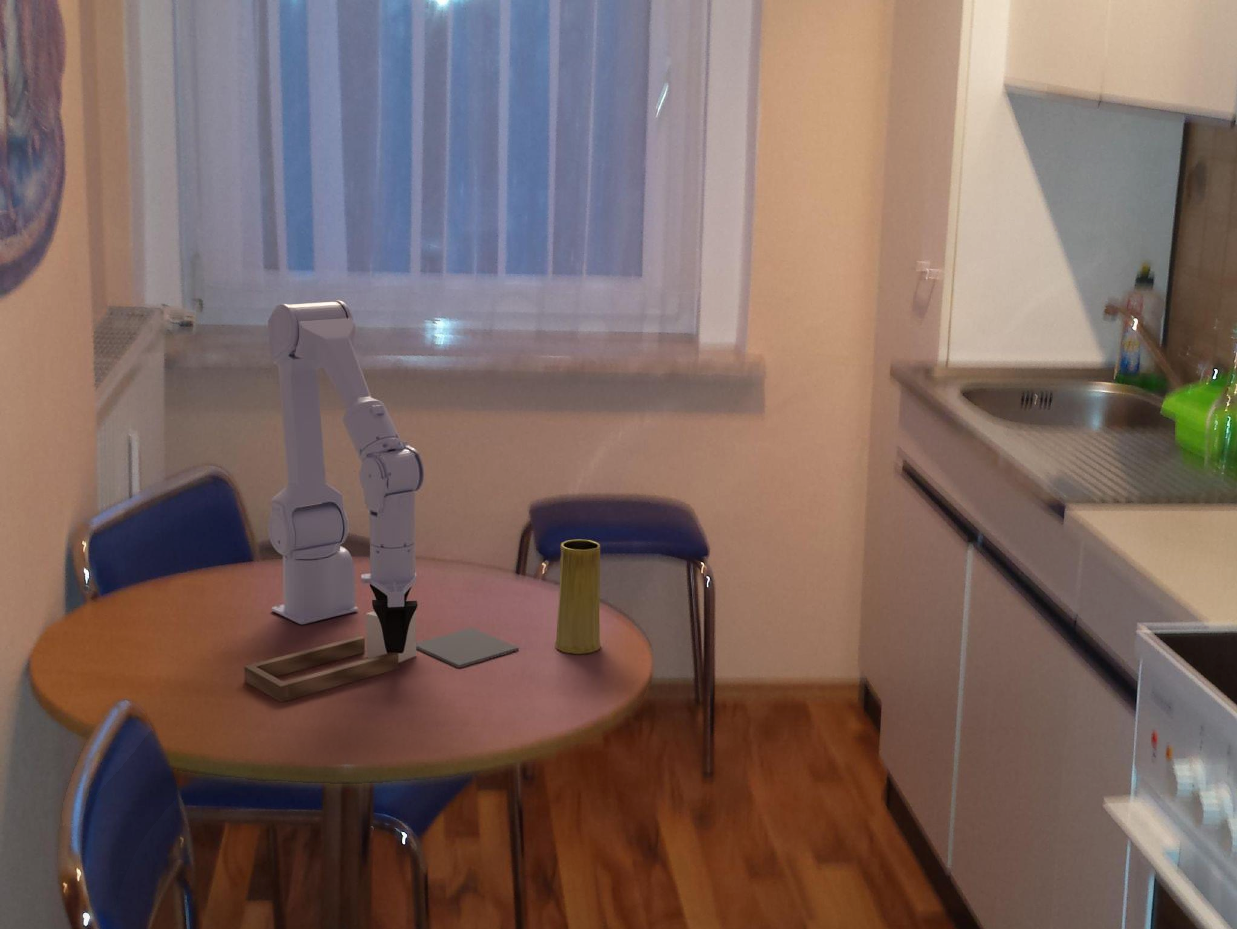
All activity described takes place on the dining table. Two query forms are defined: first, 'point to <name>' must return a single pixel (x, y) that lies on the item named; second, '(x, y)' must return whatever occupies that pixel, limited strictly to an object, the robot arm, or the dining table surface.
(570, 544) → the vase
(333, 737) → the dining table surface
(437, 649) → the slate mat
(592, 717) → the dining table surface
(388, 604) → the robot arm
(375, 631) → the white block
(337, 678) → the walnut channel
